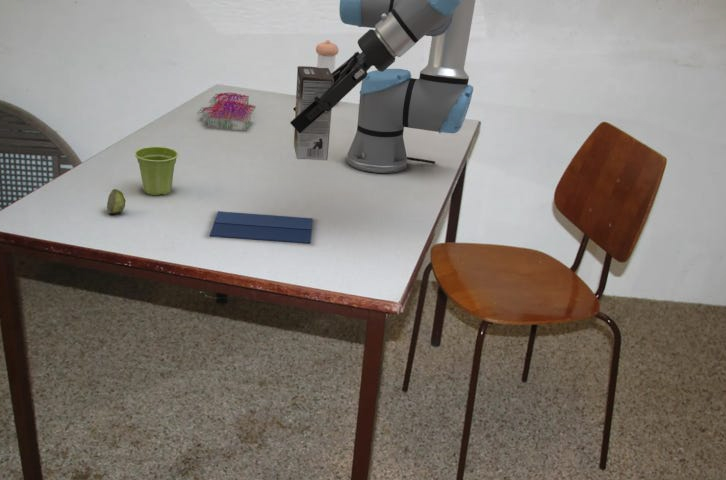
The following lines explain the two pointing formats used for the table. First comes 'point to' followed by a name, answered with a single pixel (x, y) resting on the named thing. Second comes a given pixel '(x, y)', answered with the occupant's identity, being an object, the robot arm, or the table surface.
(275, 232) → the napkin
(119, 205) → the lime
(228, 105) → the pink and grey package
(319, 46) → the pepper shaker
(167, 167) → the plant pot
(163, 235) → the table surface
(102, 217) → the table surface
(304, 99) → the coffee box
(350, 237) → the table surface
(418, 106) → the robot arm
